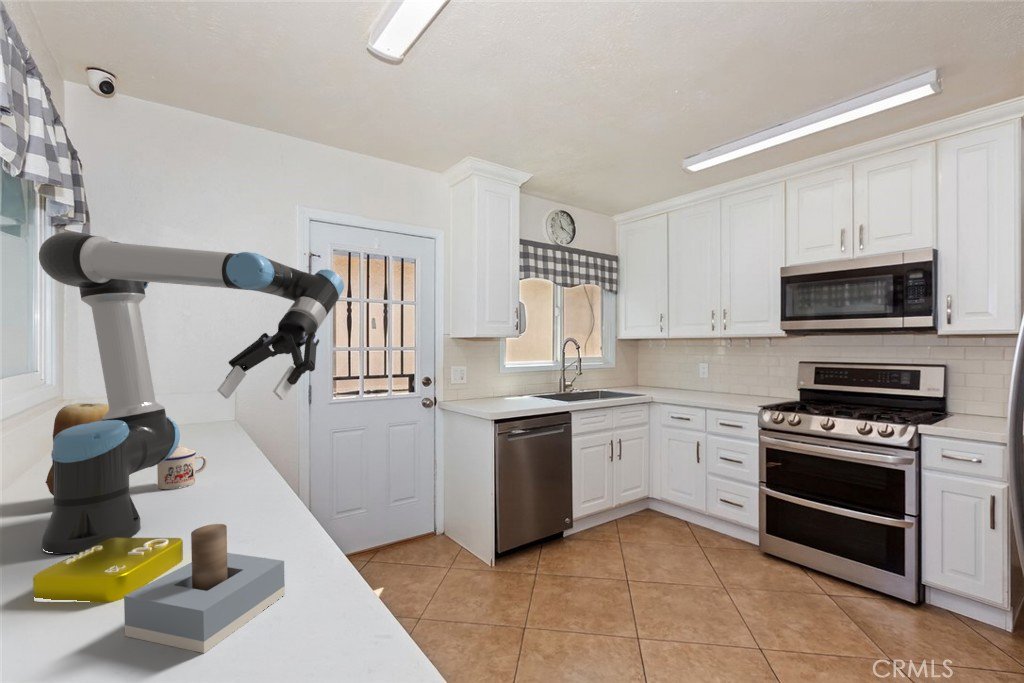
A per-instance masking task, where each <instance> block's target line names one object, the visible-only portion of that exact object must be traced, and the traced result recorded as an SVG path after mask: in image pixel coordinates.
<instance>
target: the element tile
mask: <svg viewBox="0 0 1024 683" xmlns="http://www.w3.org/2000/svg"><path fill="white" fill-rule="evenodd" d="M183 546H184V544H183V539H182V538H181V537H129V538H110V539H108V540H105V541H103V542H101V543H99V544H97V545H94V546H92V547H90V548H88V549H86V550H84V551H82V552H77V553H75V554H73V555H72V556H69V557H68V558H65V559H64V560H61V561H59V562H57V563H54V564H53V565H51V566H49V567H47V568H44V569H43V570H40V571H38V572H37V573H35V574H34V575H33V576H32V593H33V594H32V597H33V596H34V597H35V598H43V599H51V600H77V601H90V602H101V604H106V603H107V604H108V603H112V602H116V601H117V602H118V601H122V600H124V596H125V595H127V594H129V593H131V592H133V591H135V590H137V589H139V588H141V587H143V586H145V585H147V584H149V583H151V582H153V581H155V580H157V579H158V578H159V577H160V576H161V577H162V575H163V574H166V572H168V571H170V570H172V569H173V568H174V567H177V566H178V565H179V564H180V563H182V562H183V561H184V549H183Z"/></svg>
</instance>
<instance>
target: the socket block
mask: <svg viewBox="0 0 1024 683" xmlns="http://www.w3.org/2000/svg"><path fill="white" fill-rule="evenodd" d="M227 572H228V579H227V580H225V581H224V582H222V583H220V584H218V585H217V586H215V587H213V588H212V589H210V590H208V591H204V590H198V589H192V561H191V562H190V563H188V564H186V565H183V566H181V567H179V568H177V569H176V570H173V571H172V572H169V573H168V574H165V575H164V576H161V577H160V578H159V577H158V578H156V579H154V580H153V581H151V582H150V583H148V584H147V585H145V586H143V587H141V588H139V589H137V590H135V591H133V592H131V593H129V594H127V595H125V596H124V598H123V602H124V603H123V604H124V605H123V606H124V607H123V608H124V611H123V612H124V636H125V637H129V638H132V639H138V640H142V641H147V642H150V643H151V642H152V643H156V644H161V645H165V646H170V647H172V648H178V649H182V650H187V651H192V652H197V653H202V654H205V653H207V652H208V651H210V650H211V649H212V648H214V647H215V646H217V645H218V644H219V643H221V642H222V641H224V640H225V639H227V638H228V637H229V636H230V635H232V634H233V633H235V632H236V631H237V630H239V629H240V628H241V627H243V626H244V625H246V624H247V623H249V621H251V620H253V619H254V618H256V617H257V616H258V615H260V614H261V613H263V612H264V611H265V610H266V608H267V607H268V606H269V607H271V606H272V605H274V604H275V603H276V602H278V601H279V600H280V599H282V598H283V597H285V596H286V595H285V594H286V591H285V590H286V588H285V586H286V585H285V561H284V560H282V559H274V558H267V557H262V556H261V557H260V556H253V555H248V554H246V555H245V554H238V553H231V552H227ZM284 595H285V596H284ZM282 596H283V597H282ZM281 597H282V598H281ZM279 598H280V599H279ZM278 599H279V600H278ZM277 600H278V601H277ZM274 602H275V603H274ZM273 603H274V604H273ZM271 604H272V605H271ZM270 605H271V606H270ZM269 607H268V608H269ZM268 608H267V609H268ZM264 609H265V610H264ZM263 610H264V611H263ZM259 613H260V614H259Z"/></svg>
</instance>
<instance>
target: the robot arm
mask: <svg viewBox="0 0 1024 683" xmlns="http://www.w3.org/2000/svg"><path fill="white" fill-rule="evenodd" d="M38 261H39V264H40V266H41V268H42V270H43V271H44V272H45V273H46V275H48V276H49V277H50V278H51V279H53V280H55V281H56V282H58V283H60V284H63V285H67V286H71V287H76V288H79V294H80V300H81V302H84V304H87V305H88V306H89V307H91V311H92V316H93V317H92V318H93V323H94V329H95V335H96V341H97V347H98V352H99V353H98V354H99V357H100V358H99V359H100V362H101V363H100V364H101V370H102V375H103V380H104V387H105V392H106V398H107V405H109V411H108V412H107V413H106V414H105V415H104V417H103V418H102V421H97V422H91V423H88V424H81V425H77V426H73V427H70V428H68V429H65V430H63V431H61V432H60V433H58V434H57V435H56V436H55V438H54V440H53V439H52V450H51V453H50V454H51V455H50V456H51V460H52V464H53V492H54V496H53V510H52V512H51V514H50V517H49V520H48V522H47V525H46V527H45V530H44V533H43V536H42V539H41V547H42V548H43V549H44V550H45V551H48V552H53V553H70V554H75V553H74V552H77V553H80V552H82V551H84V550H86V549H88V548H90V547H92V546H94V545H97V544H99V543H101V542H103V541H105V540H108V539H110V538H132V537H133V536H134V535H136V534H137V533H138V532H139V531H140V530H141V517H140V514H139V511H138V510H137V507H136V506H135V503H134V501H133V499H132V497H131V495H130V475H132V474H134V473H137V472H140V471H141V470H142V471H143V470H145V469H147V468H153V467H155V466H156V465H157V464H159V463H160V462H162V461H164V460H165V459H167V458H168V457H170V456H171V455H172V454H173V452H174V451H175V450H176V448H177V446H178V444H180V438H181V437H180V436H181V435H180V434H181V433H180V428H179V426H178V424H177V423H176V422H175V421H173V420H172V419H171V418H170V417H168V416H167V413H166V408H165V406H163V405H162V404H160V403H158V402H157V400H156V397H155V396H156V395H155V391H154V384H153V379H152V373H151V367H150V362H149V356H148V350H147V342H146V339H145V333H144V325H143V321H142V319H143V318H142V314H141V308H140V303H141V302H142V301H143V300H145V298H146V297H147V296H146V291H145V290H146V289H147V288H148V287H149V286H148V285H149V283H159V284H160V283H161V284H169V285H171V284H173V285H183V286H197V287H198V286H199V287H208V288H221V289H232V290H243V291H254V292H260V293H265V294H269V295H274V296H278V297H280V298H283V299H287V300H289V301H293V303H292V304H291V305H290V307H289V309H288V310H287V312H286V313H285V314H284V315H283V317H282V318H281V319H280V321H279V322H278V324H277V331H276V333H275V334H273V335H269V334H268V333H267V332H265V333H264V332H263V333H262V334H260V336H259V338H257V339H256V340H255V341H254V342H253V343H252V344H249V345H248V346H247V347H246V348H245V349H243V350H242V351H241V352H239V353H237V355H236V356H234V357H233V358H231V359H230V360H228V365H229V366H230V367H231V368H232V369H231V370H230V371H229V373H228V374H227V375H226V377H225V379H224V381H223V382H222V383H221V384H220V386H218V388H217V392H218V393H220V395H221V396H222V397H223V398H224V399H229V398H230V397H231V396H232V394H233V393H234V392H235V391H236V389H237V387H239V385H240V384H241V382H243V380H244V378H245V377H246V375H247V373H246V372H248V371H249V370H251V369H252V368H254V367H255V366H257V365H259V364H260V363H262V362H264V361H265V360H267V359H269V358H270V357H271V358H275V357H276V356H278V355H284V354H285V355H290V354H291V357H292V361H293V362H292V364H293V365H289V367H288V368H287V370H286V371H285V372H284V374H283V375H282V377H281V378H280V380H279V381H278V382H277V384H276V385H275V387H274V388H273V390H272V392H273V393H274V394H275V396H276V397H277V398H278V399H279V400H280V401H283V400H285V399H286V397H287V396H288V394H289V392H290V391H291V389H292V388H293V386H294V385H296V384H297V383H298V381H299V380H300V378H301V377H302V375H303V374H304V375H305V373H306V372H314V371H315V370H316V359H317V358H316V357H317V346H318V345H319V343H320V339H319V338H318V336H317V335H316V333H317V331H318V330H319V328H320V327H321V325H322V324H323V322H324V321H325V320H326V317H327V316H328V315H329V313H330V312H331V310H332V309H333V307H334V306H335V305H336V303H337V302H338V301H339V299H340V297H341V295H342V293H343V292H344V288H345V283H344V281H343V279H342V277H341V276H340V275H339V274H338V273H336V272H335V271H333V270H330V269H327V268H326V269H320V270H318V271H316V273H314V274H312V273H309V272H305V271H302V270H299V269H297V268H293V267H291V266H288V265H285V264H283V263H280V262H277V261H275V260H272V259H270V258H267V257H265V256H264V255H261V254H259V253H256V252H249V251H242V252H238V253H232V252H223V251H215V250H214V251H213V250H203V249H202V250H201V249H189V248H178V247H167V246H157V245H156V246H155V245H145V244H144V245H143V244H135V243H122V242H119V241H112V240H109V239H108V238H106V237H104V236H99V235H89V234H87V233H82V232H76V231H67V232H66V231H65V232H59V233H56V234H54V235H52V236H49V237H48V238H47V239H46V240H45V241H44V242H42V244H41V246H40V248H39V251H38ZM303 346H304V353H302V350H301V349H302V347H303ZM271 348H272V349H273V350H272V349H271ZM42 548H41V549H42Z"/></svg>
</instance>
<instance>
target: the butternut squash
mask: <svg viewBox="0 0 1024 683" xmlns="http://www.w3.org/2000/svg"><path fill="white" fill-rule="evenodd" d="M108 411H109V405H108V403H106V404H105V403H85V402H83V403H82V402H78V403H72V404H67V405H65V406H64V407H61V408H60V409H59V410H58V411H57V414H56V416H55V418H54V423H53V430H52V431H53V432H52V441H53V440H54V438H55V436H56V435H57V434H58V433H60V432H61V431H63V430H65V429H68V428H70V427H73V426H77V425H81V424H88V423H91V422H97V421H102V418H103V417H104V415H105V414H106V413H107V412H108ZM45 484H46V486H47V488H48V491H49V493H50V494H51V495H52V496H53V497H54V492H53V463H52V465H51V466H50V468H49V471H48V473H47V476H46V479H45Z"/></svg>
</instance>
